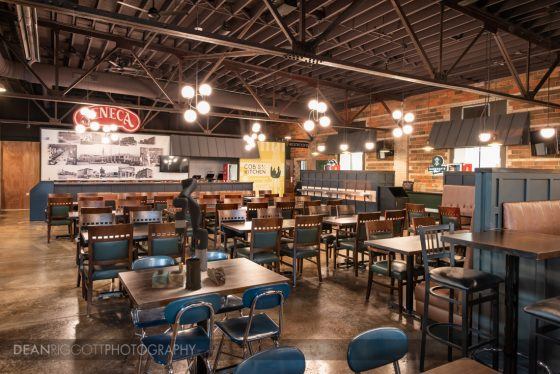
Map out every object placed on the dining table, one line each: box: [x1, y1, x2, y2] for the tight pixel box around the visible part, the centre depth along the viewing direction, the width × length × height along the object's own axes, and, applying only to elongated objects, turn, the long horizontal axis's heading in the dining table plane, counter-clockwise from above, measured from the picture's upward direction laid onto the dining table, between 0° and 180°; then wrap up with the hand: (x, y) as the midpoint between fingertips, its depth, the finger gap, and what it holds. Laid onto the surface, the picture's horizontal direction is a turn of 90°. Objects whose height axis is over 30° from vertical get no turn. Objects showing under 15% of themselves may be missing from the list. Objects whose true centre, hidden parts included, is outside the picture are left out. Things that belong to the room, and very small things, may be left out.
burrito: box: [206, 266, 227, 287], centre depth 264 cm, size 10×27×10 cm, turn 28°
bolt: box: [169, 262, 184, 274], centre depth 256 cm, size 8×3×7 cm, turn 99°
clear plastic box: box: [151, 267, 186, 289], centre depth 255 cm, size 20×14×11 cm
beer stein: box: [184, 257, 202, 292], centre depth 244 cm, size 15×11×20 cm
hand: (180, 249), depth 256 cm, fingers open, 8 cm apart
